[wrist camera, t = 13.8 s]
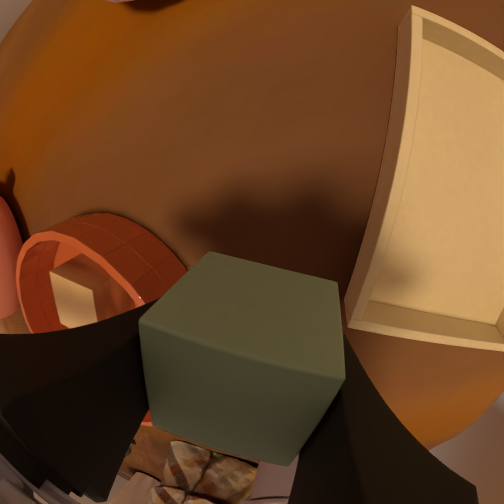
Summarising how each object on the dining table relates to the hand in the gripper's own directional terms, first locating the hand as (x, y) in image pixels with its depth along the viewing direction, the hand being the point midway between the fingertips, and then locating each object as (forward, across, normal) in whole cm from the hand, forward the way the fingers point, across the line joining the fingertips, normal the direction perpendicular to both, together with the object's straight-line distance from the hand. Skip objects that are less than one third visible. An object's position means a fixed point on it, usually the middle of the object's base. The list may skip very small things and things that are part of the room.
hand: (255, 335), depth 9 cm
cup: (+8, +14, +52) cm, 54 cm away
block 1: (+7, +12, +5) cm, 15 cm away
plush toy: (+8, +3, +30) cm, 32 cm away
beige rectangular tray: (+8, -11, -7) cm, 15 cm away
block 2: (+1, 0, 0) cm, 1 cm away
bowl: (+8, +12, +9) cm, 17 cm away
